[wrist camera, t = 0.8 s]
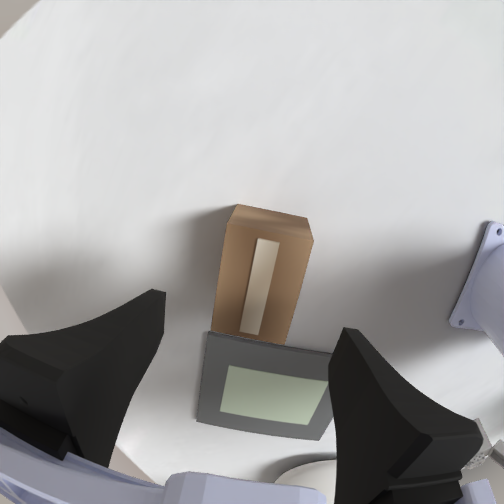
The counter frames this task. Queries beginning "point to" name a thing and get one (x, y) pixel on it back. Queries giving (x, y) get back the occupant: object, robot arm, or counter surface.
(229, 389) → the mat
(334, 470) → the flower in vase
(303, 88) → the counter surface
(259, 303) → the cardboard box
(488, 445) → the lighter
